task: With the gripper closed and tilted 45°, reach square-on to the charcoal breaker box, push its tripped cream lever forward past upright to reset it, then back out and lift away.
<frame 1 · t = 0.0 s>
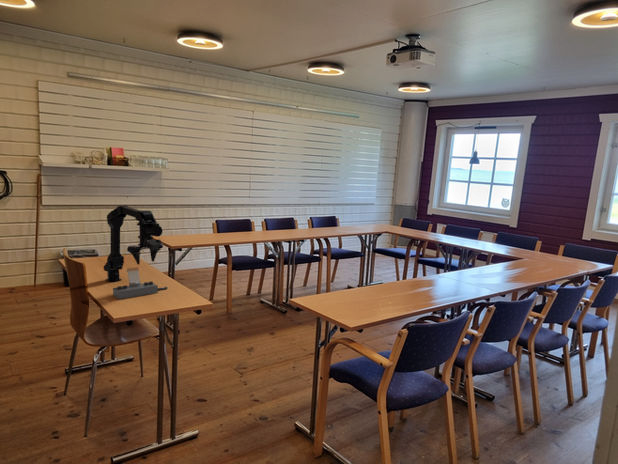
hand: (145, 262, 231), 14 cm above the table, tool pointing down, fingers open, 9 cm apart
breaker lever: (133, 276, 224), point 9 cm above the table, hinge at -20.0°
breaker box: (135, 293, 225), on the table
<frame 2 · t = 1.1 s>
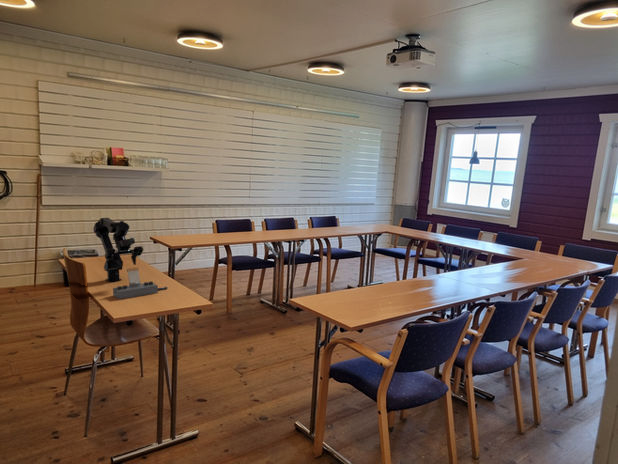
hand: (128, 265, 228), 13 cm above the table, tool tilted 45°, fingers open, 6 cm apart
nothing on the table moved.
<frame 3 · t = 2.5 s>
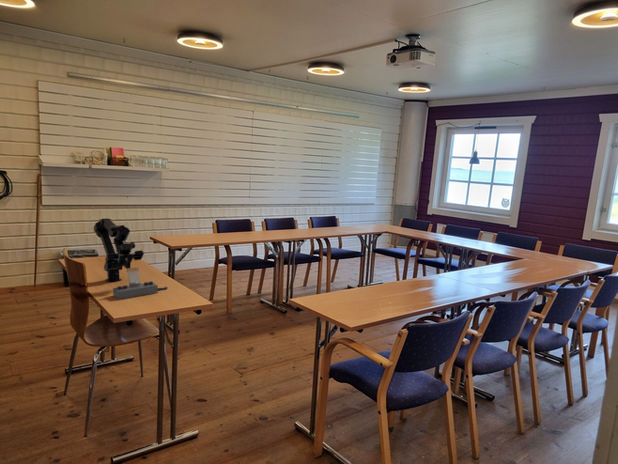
hand: (129, 269, 228), 11 cm above the table, tool tilted 45°, fingers closed
nothing on the table moved.
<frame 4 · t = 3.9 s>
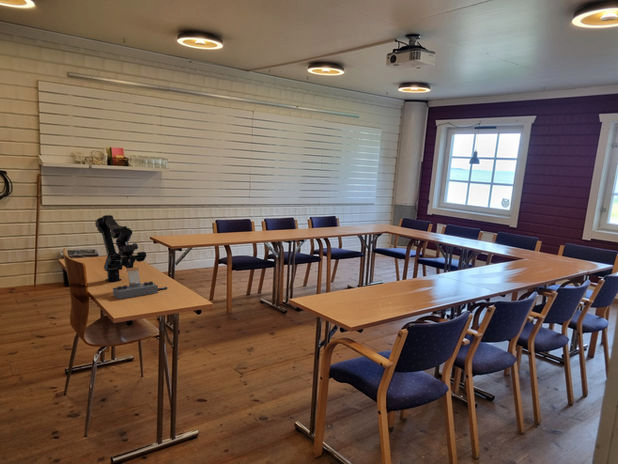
hand: (131, 271, 226), 11 cm above the table, tool tilted 45°, fingers closed, pressing on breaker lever
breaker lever: (133, 276, 224), point 9 cm above the table, hinge at -20.0°, touching gripper
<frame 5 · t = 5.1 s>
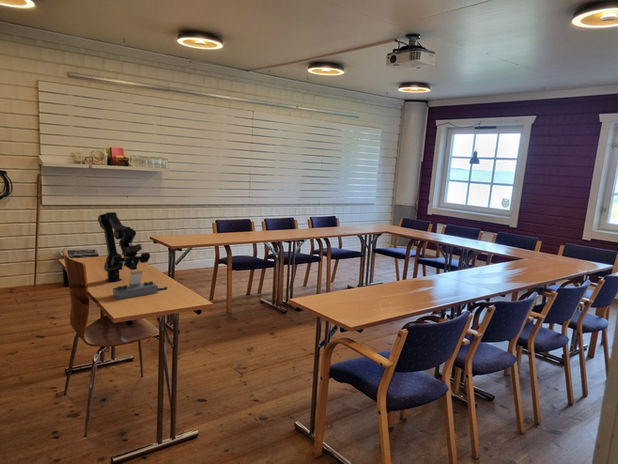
hand: (135, 272, 222), 12 cm above the table, tool tilted 45°, fingers closed, pressing on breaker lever
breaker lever: (135, 277, 222), point 9 cm above the table, hinge at 20.8°, touching gripper
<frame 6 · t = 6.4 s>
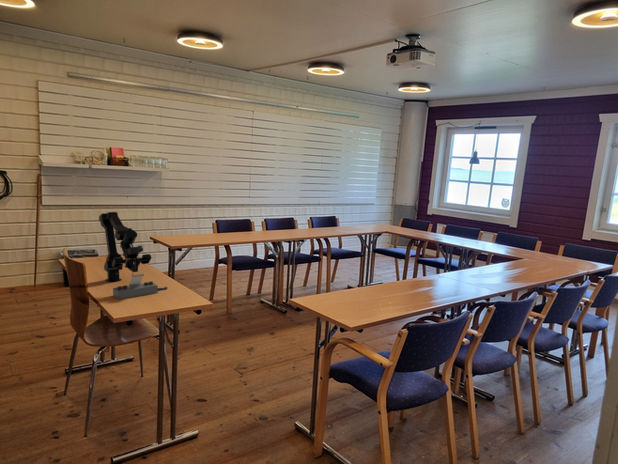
hand: (136, 274, 221), 11 cm above the table, tool tilted 45°, fingers closed
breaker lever: (136, 279, 222), point 8 cm above the table, hinge at 35.7°
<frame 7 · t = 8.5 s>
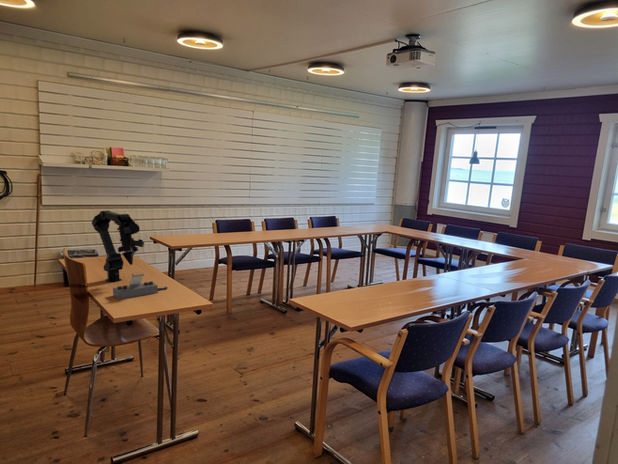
hand: (131, 264, 234), 12 cm above the table, tool tilted 20°, fingers closed
nothing on the table moved.
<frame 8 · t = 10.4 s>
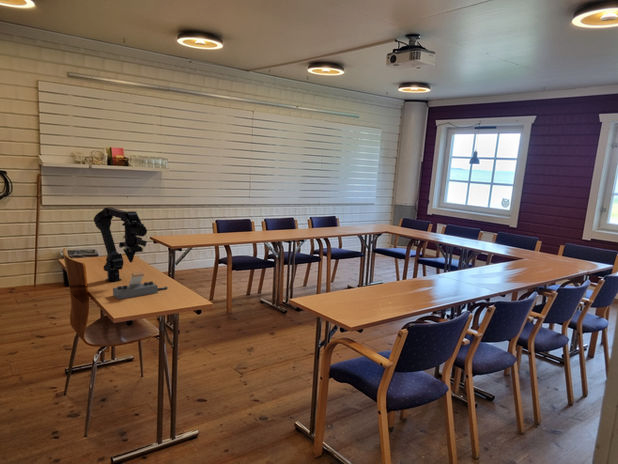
hand: (131, 262, 238), 13 cm above the table, tool pointing down, fingers closed
nothing on the table moved.
at the end: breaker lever at +36° (first picture: -20°); the gripper is holding nothing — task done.
